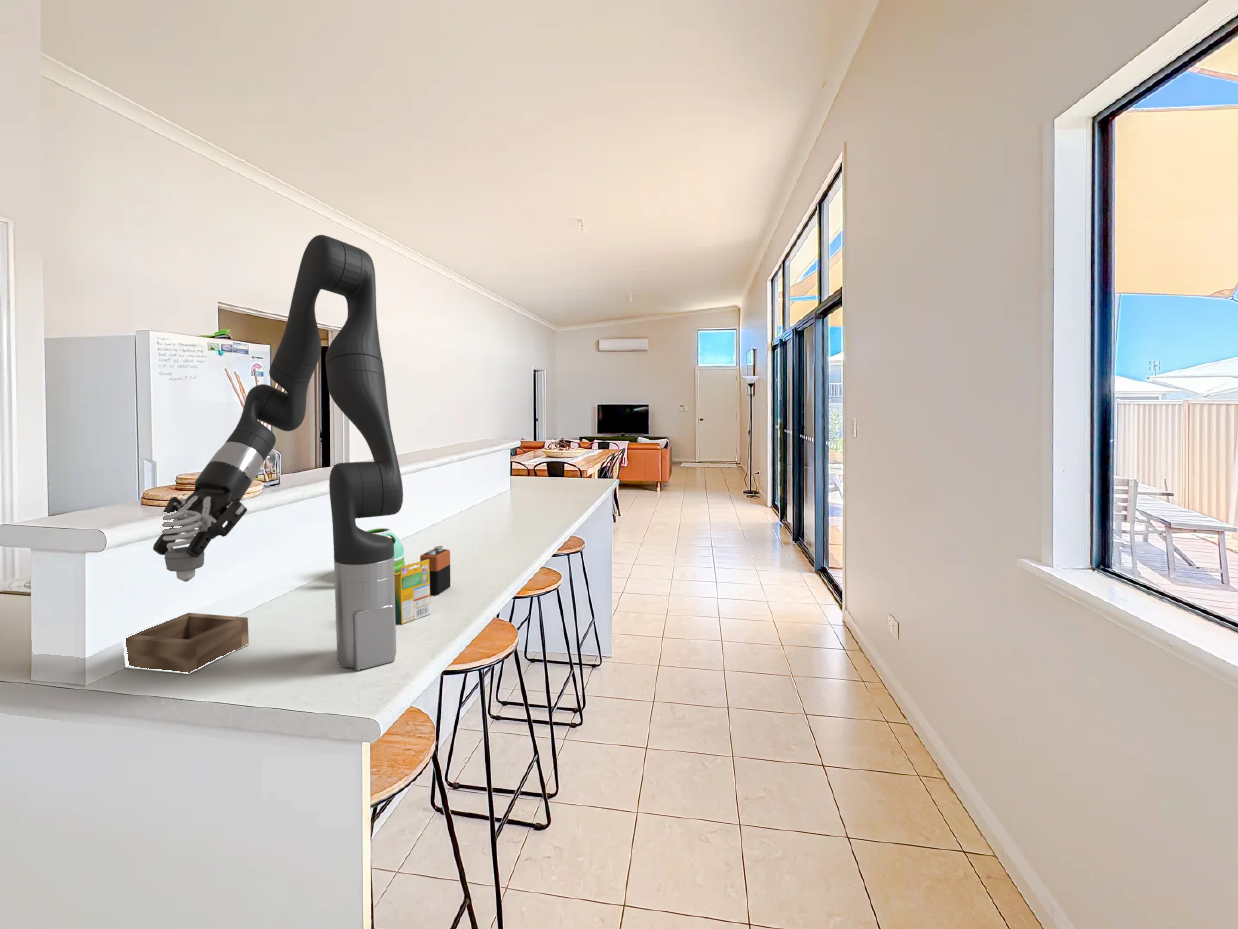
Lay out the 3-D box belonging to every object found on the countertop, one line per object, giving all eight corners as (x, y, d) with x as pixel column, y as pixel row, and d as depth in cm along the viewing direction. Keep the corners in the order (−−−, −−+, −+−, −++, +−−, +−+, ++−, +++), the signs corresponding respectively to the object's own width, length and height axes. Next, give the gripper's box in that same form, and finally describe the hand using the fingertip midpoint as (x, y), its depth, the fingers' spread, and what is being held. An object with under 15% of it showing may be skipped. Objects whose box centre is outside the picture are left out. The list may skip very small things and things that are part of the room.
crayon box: (421, 611, 123) (420, 556, 122) (431, 614, 121) (430, 559, 120) (391, 622, 117) (390, 564, 116) (401, 625, 115) (400, 566, 114)
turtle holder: (323, 588, 138) (321, 538, 136) (375, 568, 155) (373, 523, 154) (368, 593, 134) (366, 542, 133) (416, 572, 152) (415, 527, 150)
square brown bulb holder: (248, 645, 105) (247, 617, 104) (188, 674, 93) (187, 644, 92) (190, 639, 107) (188, 612, 106) (124, 668, 95) (122, 638, 94)
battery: (451, 587, 140) (450, 545, 139) (437, 596, 133) (437, 552, 132) (434, 586, 141) (433, 544, 140) (419, 594, 134) (419, 551, 133)
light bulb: (200, 574, 103) (196, 506, 101) (211, 581, 99) (207, 510, 98) (160, 581, 98) (156, 510, 97) (170, 589, 95) (166, 515, 94)
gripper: (182, 458, 105) (120, 539, 95) (253, 461, 103) (197, 544, 92) (209, 483, 111) (153, 562, 101) (277, 487, 109) (227, 568, 98)
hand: (175, 553), depth 96 cm, fingers closed on light bulb, 5 cm apart
